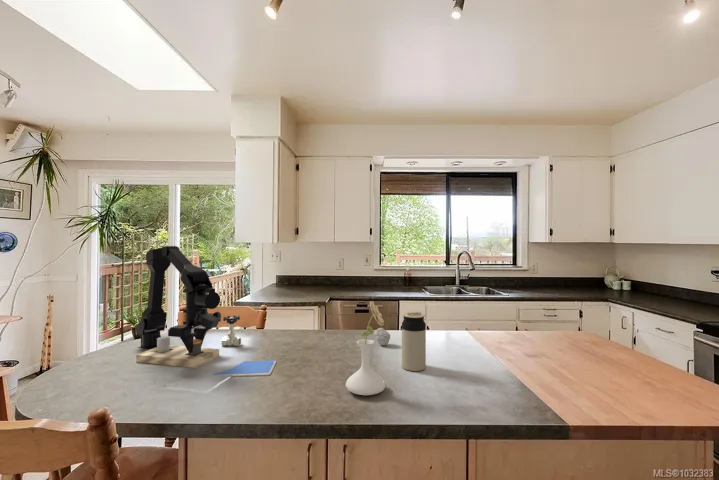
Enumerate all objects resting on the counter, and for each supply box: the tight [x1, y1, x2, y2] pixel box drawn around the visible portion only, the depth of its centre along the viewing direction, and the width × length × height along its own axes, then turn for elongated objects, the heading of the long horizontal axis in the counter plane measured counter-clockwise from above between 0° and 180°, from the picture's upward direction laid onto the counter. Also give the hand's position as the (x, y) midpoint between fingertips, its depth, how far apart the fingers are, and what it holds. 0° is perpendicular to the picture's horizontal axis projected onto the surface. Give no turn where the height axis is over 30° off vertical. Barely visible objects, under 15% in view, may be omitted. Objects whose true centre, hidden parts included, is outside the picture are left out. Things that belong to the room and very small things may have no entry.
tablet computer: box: [211, 359, 277, 378], centre depth 111 cm, size 19×13×1 cm, turn 94°
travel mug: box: [401, 311, 427, 372], centre depth 113 cm, size 8×8×18 cm
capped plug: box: [188, 338, 202, 356], centre depth 117 cm, size 4×4×7 cm
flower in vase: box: [345, 300, 387, 396], centre depth 96 cm, size 13×11×25 cm
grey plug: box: [157, 336, 171, 353], centre depth 120 cm, size 4×4×7 cm
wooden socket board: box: [135, 344, 220, 369], centre depth 119 cm, size 24×12×3 cm, turn 77°
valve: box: [221, 315, 242, 348], centre depth 134 cm, size 7×7×12 cm
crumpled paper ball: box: [373, 327, 391, 346], centre depth 137 cm, size 6×7×7 cm
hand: (194, 350), depth 117 cm, fingers closed on capped plug, 4 cm apart
